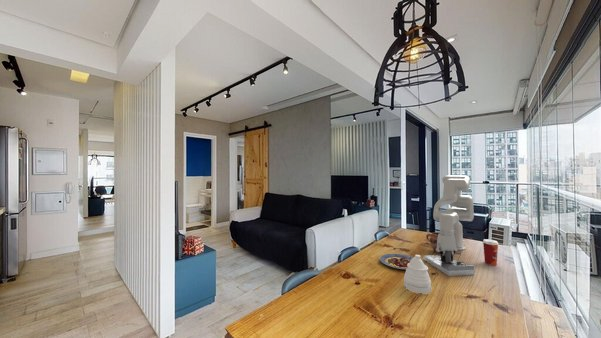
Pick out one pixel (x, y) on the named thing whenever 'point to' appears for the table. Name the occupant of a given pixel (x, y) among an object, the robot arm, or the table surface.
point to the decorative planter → (433, 240)
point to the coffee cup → (490, 251)
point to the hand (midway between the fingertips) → (446, 260)
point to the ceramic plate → (396, 260)
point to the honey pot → (417, 276)
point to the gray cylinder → (447, 257)
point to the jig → (450, 266)
